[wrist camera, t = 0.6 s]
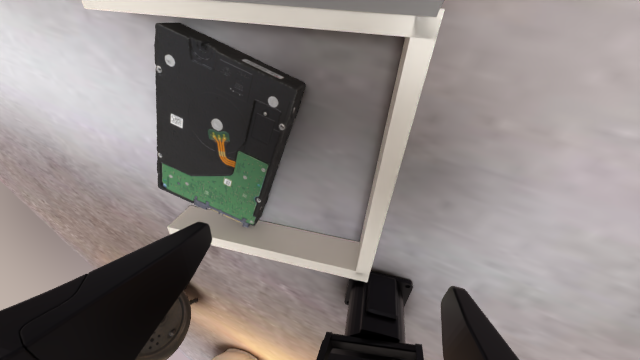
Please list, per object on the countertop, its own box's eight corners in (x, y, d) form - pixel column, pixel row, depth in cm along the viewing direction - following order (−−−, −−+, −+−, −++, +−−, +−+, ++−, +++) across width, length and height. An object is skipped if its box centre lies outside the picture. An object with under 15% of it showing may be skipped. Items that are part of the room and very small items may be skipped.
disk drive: (180, 20, 18) (175, 175, 26) (150, 19, 16) (155, 189, 24) (310, 80, 18) (264, 215, 26) (298, 87, 16) (253, 233, 24)
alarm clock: (141, 262, 37) (4, 396, 24) (155, 251, 35) (10, 395, 21) (198, 304, 40) (105, 443, 27) (215, 296, 38) (121, 447, 24)
